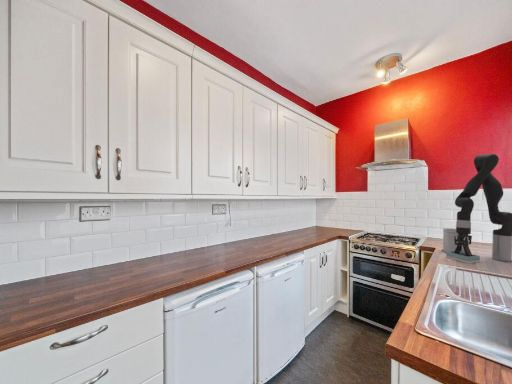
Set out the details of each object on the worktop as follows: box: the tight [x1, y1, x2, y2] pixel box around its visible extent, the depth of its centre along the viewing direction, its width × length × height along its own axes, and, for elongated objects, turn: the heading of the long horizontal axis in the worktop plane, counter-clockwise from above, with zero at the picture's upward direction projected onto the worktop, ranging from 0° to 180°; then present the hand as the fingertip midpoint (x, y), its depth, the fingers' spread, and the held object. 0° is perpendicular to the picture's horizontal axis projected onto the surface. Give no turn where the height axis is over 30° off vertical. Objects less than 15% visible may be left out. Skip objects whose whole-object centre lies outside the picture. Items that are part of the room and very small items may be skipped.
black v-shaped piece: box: [454, 239, 473, 257], centre depth 158 cm, size 9×6×12 cm, turn 32°
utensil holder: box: [442, 227, 465, 253], centre depth 177 cm, size 15×15×18 cm
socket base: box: [445, 251, 481, 264], centre depth 158 cm, size 11×14×4 cm
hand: (462, 250), depth 158 cm, fingers closed on black v-shaped piece, 6 cm apart
